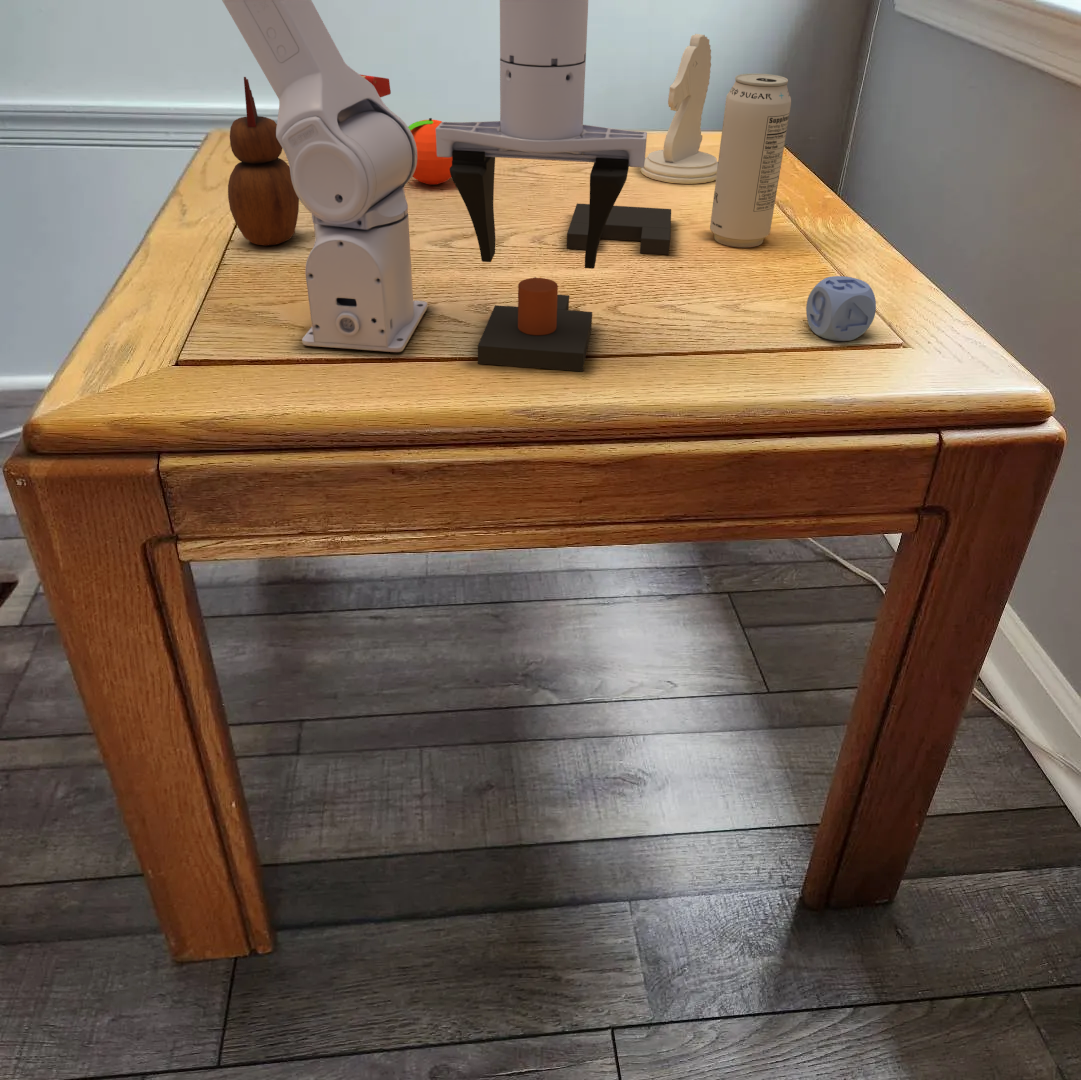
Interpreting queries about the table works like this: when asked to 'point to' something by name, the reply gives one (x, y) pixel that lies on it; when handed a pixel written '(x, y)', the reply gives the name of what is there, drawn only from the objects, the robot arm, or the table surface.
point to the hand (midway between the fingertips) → (539, 260)
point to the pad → (536, 347)
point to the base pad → (625, 227)
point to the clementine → (429, 154)
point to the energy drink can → (750, 159)
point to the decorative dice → (840, 308)
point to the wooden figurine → (260, 180)
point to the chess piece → (686, 122)
